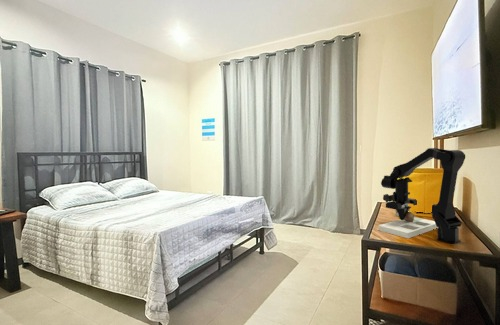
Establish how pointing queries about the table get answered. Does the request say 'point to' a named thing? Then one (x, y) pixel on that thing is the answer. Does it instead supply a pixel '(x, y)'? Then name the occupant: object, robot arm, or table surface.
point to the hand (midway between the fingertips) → (401, 220)
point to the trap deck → (408, 227)
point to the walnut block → (409, 217)
